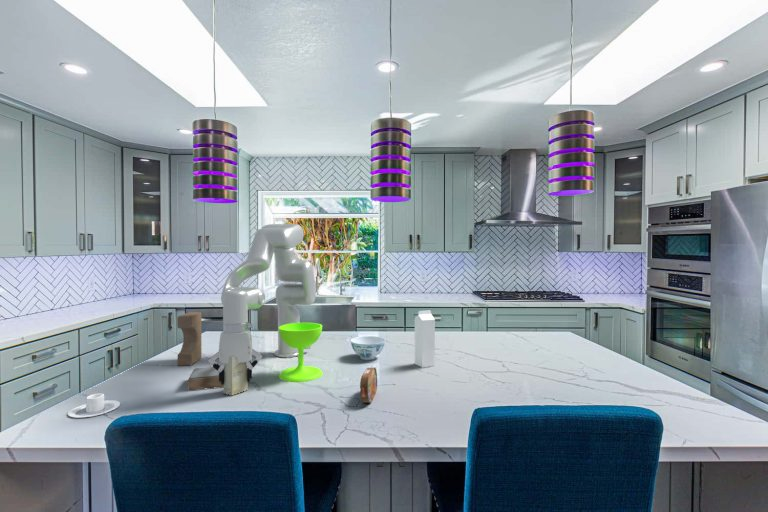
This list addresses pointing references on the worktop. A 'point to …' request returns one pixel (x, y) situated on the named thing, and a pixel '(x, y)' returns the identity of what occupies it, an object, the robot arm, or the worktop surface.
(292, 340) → the wineglass
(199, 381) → the plinth
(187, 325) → the decorative block
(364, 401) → the tin
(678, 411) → the worktop surface
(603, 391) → the worktop surface
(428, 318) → the milk
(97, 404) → the candle holder
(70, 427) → the worktop surface
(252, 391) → the worktop surface
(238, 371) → the skincare box
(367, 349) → the chinaware
